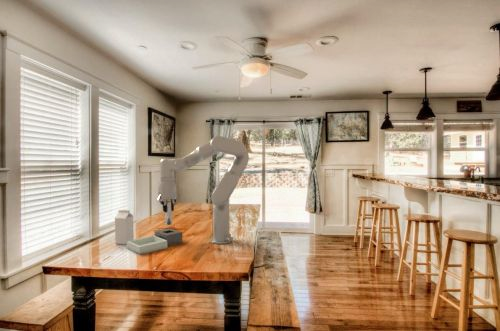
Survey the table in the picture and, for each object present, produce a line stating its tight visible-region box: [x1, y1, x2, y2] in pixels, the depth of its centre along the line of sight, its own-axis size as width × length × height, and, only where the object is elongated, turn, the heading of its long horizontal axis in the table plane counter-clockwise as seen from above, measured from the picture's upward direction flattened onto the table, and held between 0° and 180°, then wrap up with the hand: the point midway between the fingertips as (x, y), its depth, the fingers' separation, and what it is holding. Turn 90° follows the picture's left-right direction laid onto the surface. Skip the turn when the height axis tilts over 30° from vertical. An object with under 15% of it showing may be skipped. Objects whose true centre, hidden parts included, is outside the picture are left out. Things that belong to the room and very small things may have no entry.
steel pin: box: [164, 199, 173, 226], centre depth 166 cm, size 4×4×16 cm
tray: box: [126, 235, 168, 256], centre depth 155 cm, size 16×16×4 cm
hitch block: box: [153, 227, 183, 247], centre depth 166 cm, size 14×10×6 cm
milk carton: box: [114, 209, 135, 245], centre depth 166 cm, size 7×7×19 cm
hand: (168, 211), depth 166 cm, fingers closed on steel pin, 3 cm apart
